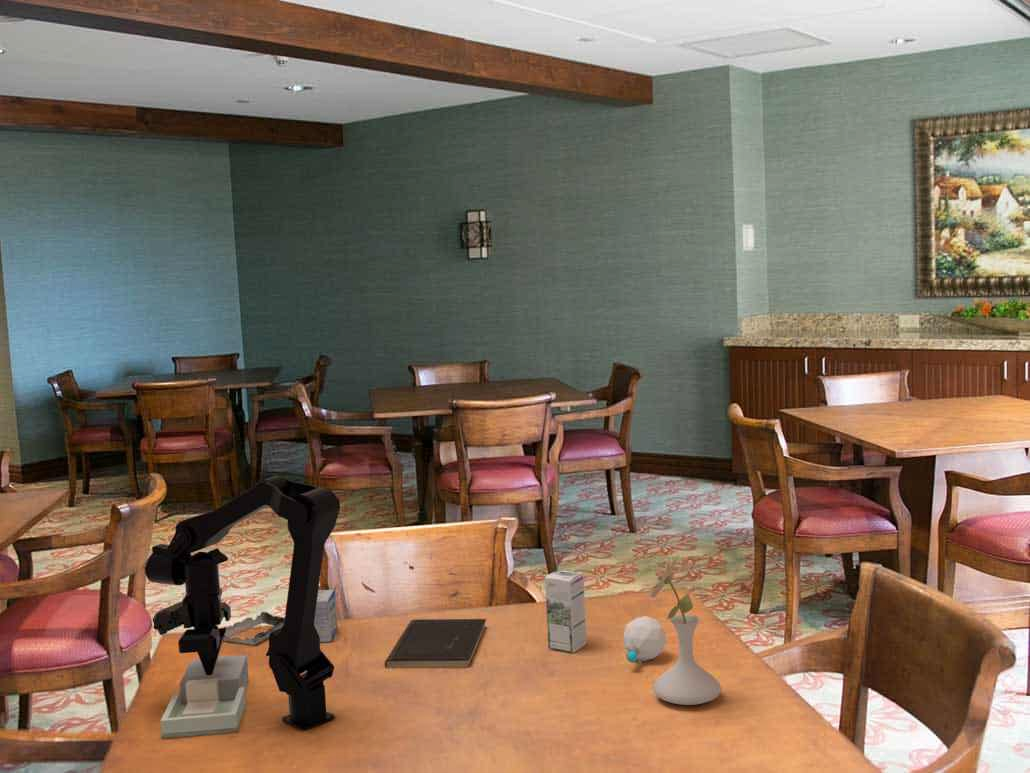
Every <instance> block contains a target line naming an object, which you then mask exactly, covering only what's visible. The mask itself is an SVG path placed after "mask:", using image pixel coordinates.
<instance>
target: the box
mask: <svg viewBox="0 0 1030 773" xmlns="http://www.w3.org/2000/svg"><path fill="white" fill-rule="evenodd" d="M219 703H220V706H219V713H218V714H208V715H196V716H185V717H182V714H183V712H184V710H185V708H186V706H187V704H185V705H181V695H180V692H173V694H172V696H171V699H170V700H169V702H168V704H167V707H166V709H165V710H164V713H163V714H162V717H161V719H160V722H159V723H160V733H161V734H160V735H161V739H171V738H186V737H196V736H197V737H198V736H207V735H216V734H217V735H218V734H219V735H221V734H231V733H238V730H239V727H240V724H241V721H242V718H243V714H244V711H245V709H246V705H247V701H246V688H245V687H241V688H239V689H238V692H237V695H236V698H235V700H232V701H220V702H219Z"/></svg>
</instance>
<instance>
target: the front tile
mask: <svg viewBox="0 0 1030 773" xmlns="http://www.w3.org/2000/svg"><path fill="white" fill-rule="evenodd" d="M218 713H219V701H218V700H216V701H202V702H189V703H188V704H187V706H186V708H185V710H184V712H183V714H182V717H185V716H196V715H208V714H218Z"/></svg>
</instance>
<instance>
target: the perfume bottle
mask: <svg viewBox="0 0 1030 773" xmlns="http://www.w3.org/2000/svg"><path fill="white" fill-rule="evenodd" d="M666 636H667V635H666V629H665V628H664V626H662V624H661V622H659V620H658V619H655V618H653V617H650V616H647V615H645V616H639V617H636V618H634V619H633V620H631V621H630V622H628V623H627V624H626V625H625V628H624V632H623V636H622V640H623V647H624V649H625V650H626V652H627V653H626V655H625V656H626V660H628V662H630V663H635V662H637V663H640V664H642V662H645V661H649V660H653V659H655V658H656V657H658V656H659V655H661V654H662V653H663V652H664V650H665V646H666V641H667V638H666Z"/></svg>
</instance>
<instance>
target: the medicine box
mask: <svg viewBox="0 0 1030 773" xmlns="http://www.w3.org/2000/svg"><path fill="white" fill-rule="evenodd" d="M314 626H315V628H316V630H317V632H318V634H319V637H320V643H331V642H332V641H333V639H334V637H335V635H336V633H337V631H338V627H339V626H338V615H337V601H336V590H335V589H321V590H318V596H317V604H316V611H315V619H314Z"/></svg>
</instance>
